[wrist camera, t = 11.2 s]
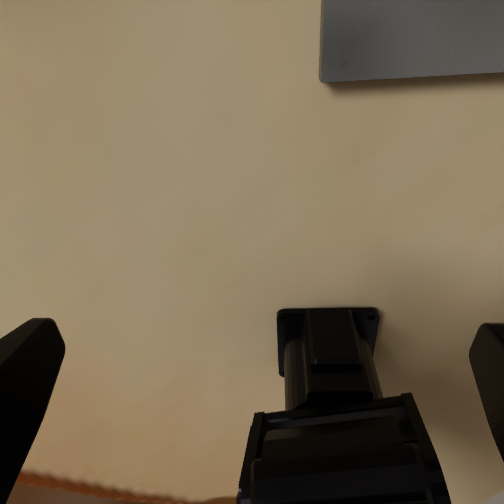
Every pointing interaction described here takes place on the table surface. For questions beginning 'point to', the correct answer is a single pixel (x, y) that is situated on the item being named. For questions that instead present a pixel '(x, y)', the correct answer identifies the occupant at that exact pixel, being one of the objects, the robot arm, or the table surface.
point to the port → (409, 38)
